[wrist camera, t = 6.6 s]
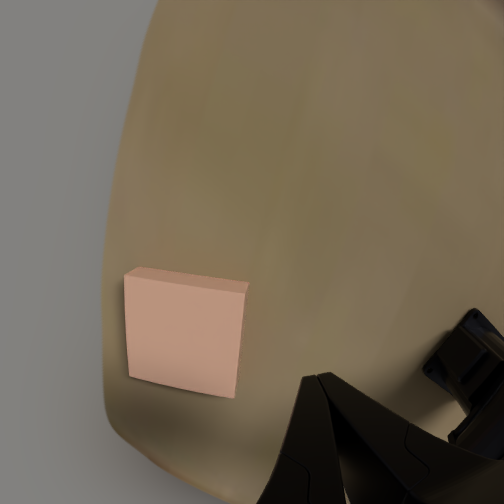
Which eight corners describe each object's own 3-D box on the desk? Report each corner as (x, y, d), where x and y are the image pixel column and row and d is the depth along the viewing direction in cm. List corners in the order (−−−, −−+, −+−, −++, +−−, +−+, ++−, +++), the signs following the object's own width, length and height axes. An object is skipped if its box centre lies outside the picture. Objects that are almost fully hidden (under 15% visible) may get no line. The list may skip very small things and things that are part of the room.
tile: (245, 293, 19) (124, 275, 20) (234, 398, 21) (129, 376, 22) (249, 280, 22) (140, 265, 23) (239, 378, 24) (142, 359, 24)
